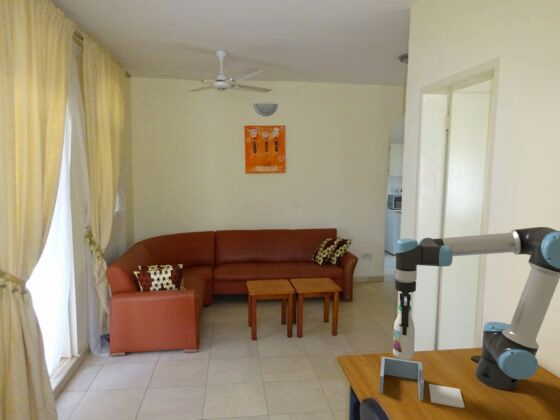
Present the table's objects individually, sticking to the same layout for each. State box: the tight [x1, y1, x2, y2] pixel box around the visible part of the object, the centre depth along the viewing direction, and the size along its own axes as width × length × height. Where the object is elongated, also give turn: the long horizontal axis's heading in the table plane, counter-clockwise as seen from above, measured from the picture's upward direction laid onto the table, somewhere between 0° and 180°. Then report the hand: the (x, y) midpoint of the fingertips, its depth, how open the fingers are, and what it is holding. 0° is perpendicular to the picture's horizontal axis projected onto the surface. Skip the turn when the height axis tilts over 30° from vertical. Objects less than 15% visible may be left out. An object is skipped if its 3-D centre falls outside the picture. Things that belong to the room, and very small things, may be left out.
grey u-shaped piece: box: [378, 356, 425, 402], centre depth 147 cm, size 15×15×7 cm
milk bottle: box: [392, 304, 416, 361], centre depth 145 cm, size 8×8×20 cm
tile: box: [428, 383, 465, 409], centre depth 141 cm, size 11×11×1 cm
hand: (403, 337), depth 145 cm, fingers closed on milk bottle, 8 cm apart
